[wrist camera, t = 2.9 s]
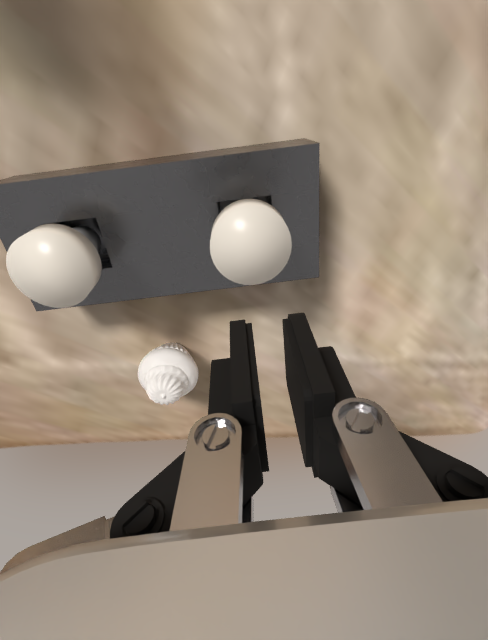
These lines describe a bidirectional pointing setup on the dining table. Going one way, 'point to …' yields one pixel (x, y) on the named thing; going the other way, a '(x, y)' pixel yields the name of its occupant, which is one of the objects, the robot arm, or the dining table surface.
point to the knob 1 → (55, 264)
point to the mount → (170, 214)
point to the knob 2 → (250, 242)
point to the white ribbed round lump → (168, 373)
